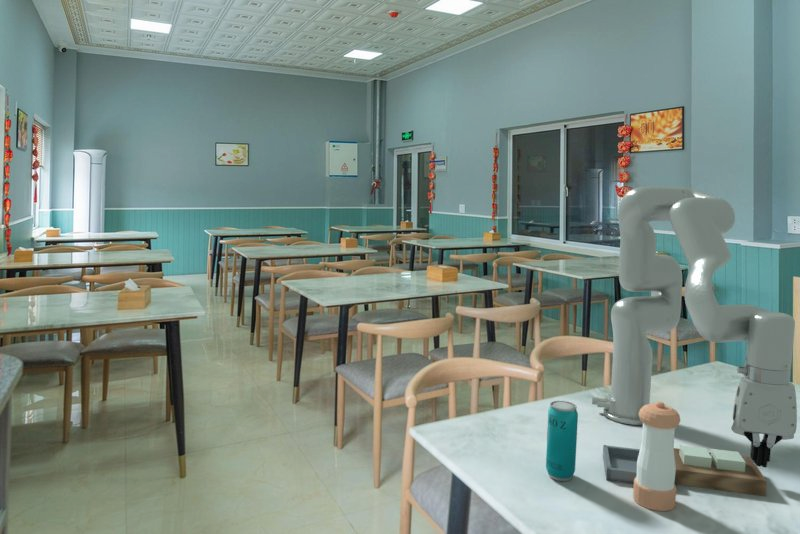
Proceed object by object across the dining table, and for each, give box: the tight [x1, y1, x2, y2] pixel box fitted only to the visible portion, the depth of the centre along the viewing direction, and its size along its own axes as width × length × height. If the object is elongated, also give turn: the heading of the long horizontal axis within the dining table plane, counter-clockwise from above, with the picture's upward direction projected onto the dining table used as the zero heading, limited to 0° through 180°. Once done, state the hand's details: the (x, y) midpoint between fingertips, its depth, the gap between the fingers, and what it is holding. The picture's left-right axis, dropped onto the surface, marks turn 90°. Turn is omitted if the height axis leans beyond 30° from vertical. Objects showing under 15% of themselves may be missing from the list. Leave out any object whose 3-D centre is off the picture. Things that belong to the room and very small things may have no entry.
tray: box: [602, 444, 676, 485], centre depth 120 cm, size 13×12×2 cm
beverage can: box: [545, 400, 579, 482], centre depth 117 cm, size 6×6×15 cm
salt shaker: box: [632, 401, 681, 512], centre depth 107 cm, size 7×7×19 cm
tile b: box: [678, 444, 712, 468], centre depth 118 cm, size 5×5×2 cm
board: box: [674, 447, 768, 497], centre depth 118 cm, size 16×11×3 cm
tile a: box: [710, 448, 746, 472], centre depth 117 cm, size 5×5×2 cm
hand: (759, 463), depth 115 cm, fingers closed
